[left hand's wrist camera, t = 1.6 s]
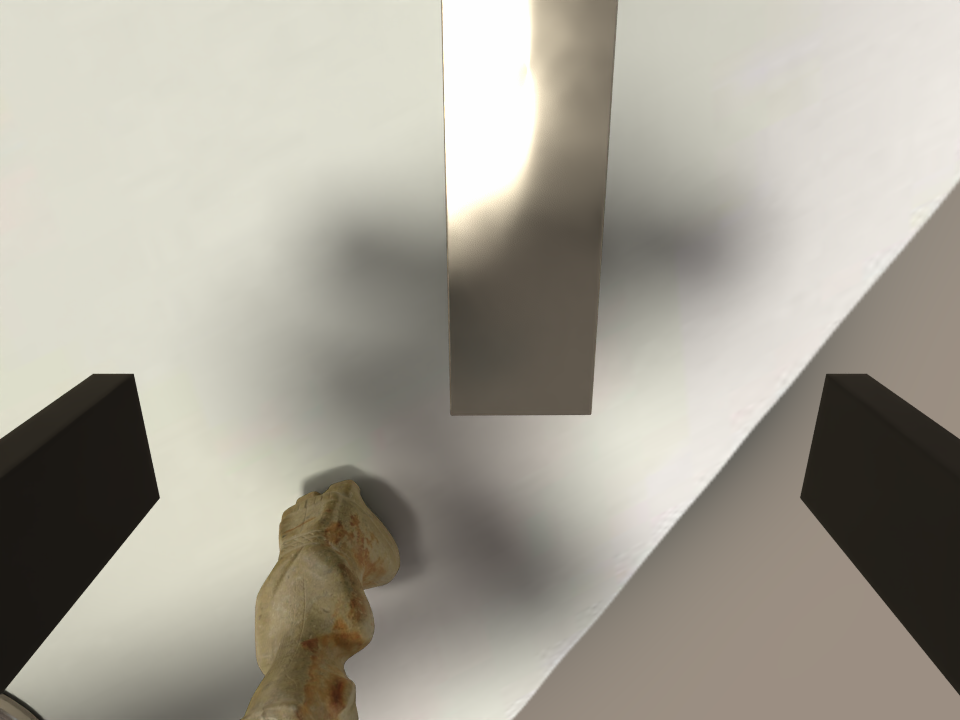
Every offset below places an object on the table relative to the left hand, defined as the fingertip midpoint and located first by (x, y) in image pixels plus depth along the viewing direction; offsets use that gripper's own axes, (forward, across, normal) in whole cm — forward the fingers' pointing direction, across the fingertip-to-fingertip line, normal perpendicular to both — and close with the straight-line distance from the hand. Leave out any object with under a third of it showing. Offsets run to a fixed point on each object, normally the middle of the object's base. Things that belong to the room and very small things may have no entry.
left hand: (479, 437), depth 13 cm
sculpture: (+21, +8, +17) cm, 28 cm away
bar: (+21, -2, -7) cm, 23 cm away
